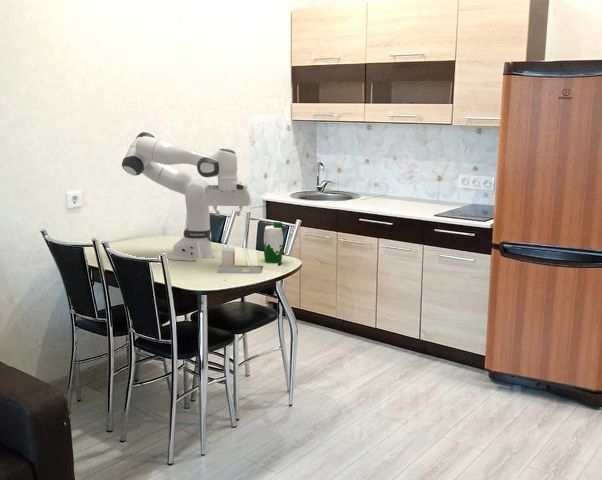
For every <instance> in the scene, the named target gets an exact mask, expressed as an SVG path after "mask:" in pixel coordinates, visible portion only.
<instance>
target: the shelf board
mask: <svg viewBox="0 0 602 480" xmlns="http://www.w3.org/2000/svg"><path fill="white" fill-rule="evenodd" d="M219 267H222V264H221V265H220V266H219ZM234 267H260V273H259V274H262V272H263V270H264V265H235V266H234ZM216 273H217V274H219V273H218V270H217V272H216Z"/></svg>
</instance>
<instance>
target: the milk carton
mask: <svg viewBox="0 0 602 480" xmlns="http://www.w3.org/2000/svg"><path fill="white" fill-rule="evenodd" d="M283 233H284V232H283V223H282V222H281V221H280V222H279V221H277V222H273V225H266V226H265V227H264V232H263V258H264V263H266V264H267V263H268V264H277V266H281V264H282V260H283V259H282V258H283V253H284V249H283V248H284V235H283Z"/></svg>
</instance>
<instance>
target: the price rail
mask: <svg viewBox="0 0 602 480" xmlns="http://www.w3.org/2000/svg"><path fill="white" fill-rule="evenodd" d="M217 271H218V273H217V274H261V273H260V267H220V266H217Z"/></svg>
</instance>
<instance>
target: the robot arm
mask: <svg viewBox="0 0 602 480" xmlns="http://www.w3.org/2000/svg"><path fill="white" fill-rule="evenodd" d="M237 158H238V157H237V154H236V152H235V151H234V150H232V149H229V148H219V149H218V150H217V151H215V152H213V153H212V154H205V153H202V152H198V151H195V150H194V151H193V150H192V149H191V150H190V149H187V148H185V147H182V146H180V145H178V144H175V143H172V142H170V141H168V140H165V139H162V138H159V137H155V136H154V135H153V134H151V133H149V132H144V131H142V132H140V133H139V134H137V136H136V138H135V139H134V140H133V142H132V143H131V144H130V145H129V148H128V150H127V152H126V154H125V156H124V158H123V159H122V161H121V166H122V169H123V170H124V172H126V173H127V174H129V175H131V176H135V177H136V176H140V175H141V174H142V175H144V176H145V177H147V178H148V179H149V180H150V181H152V182H155V183H157V184H158V185H161V186H162V187H164V188H166V189H169V190H170V191H174V192H176V193H179V194H181V195H184V199H185V207H186V208H185V209H186V217H187V221H186V222H187V223H186V224H187V228H185V229H183V237H182V238H180V239H179V240H178V241H177V242H176V243H175V244H173V247H172V252H171V253H169V254H168V257H167V258H168V260H172V261H173V260H174V261H188V262H189V261H190V262H191V261H192V262H196V261H197V260H199V259H212V258H214V257H215V255H214V252H213V249H212V243H211V241H212V230H211V221H210V220H211V219H210V217H211V213H210V208H209V207H210V206H211V207H213V210H214V211H215V216H217V217H219V216H220V215H221V213H220V211H219V210H218V209H217V208H218V207H238V208H239V211H236V217H237V216H238V217H240V216H241V212H242V210H243V207H249V206H250V205H251V193H250V192H249V190H248V184H246V183H245V182H241V181H238V175H237V172H238V159H237ZM183 164H186V165H187V164H188V165H191V166H196V170H197V172H198V174H199V175H200V176H201V177H203V178H208V179H209V178H215V177H217V184H214V185H213V184H212V185H211V184H209V182H208V181H207V180H205V179H203V178H201V177H200V176H196V175H194V174H191V173H190V172H187V171H184V170H182V169H180V168H179V167H176V166H174V165H183Z"/></svg>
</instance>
